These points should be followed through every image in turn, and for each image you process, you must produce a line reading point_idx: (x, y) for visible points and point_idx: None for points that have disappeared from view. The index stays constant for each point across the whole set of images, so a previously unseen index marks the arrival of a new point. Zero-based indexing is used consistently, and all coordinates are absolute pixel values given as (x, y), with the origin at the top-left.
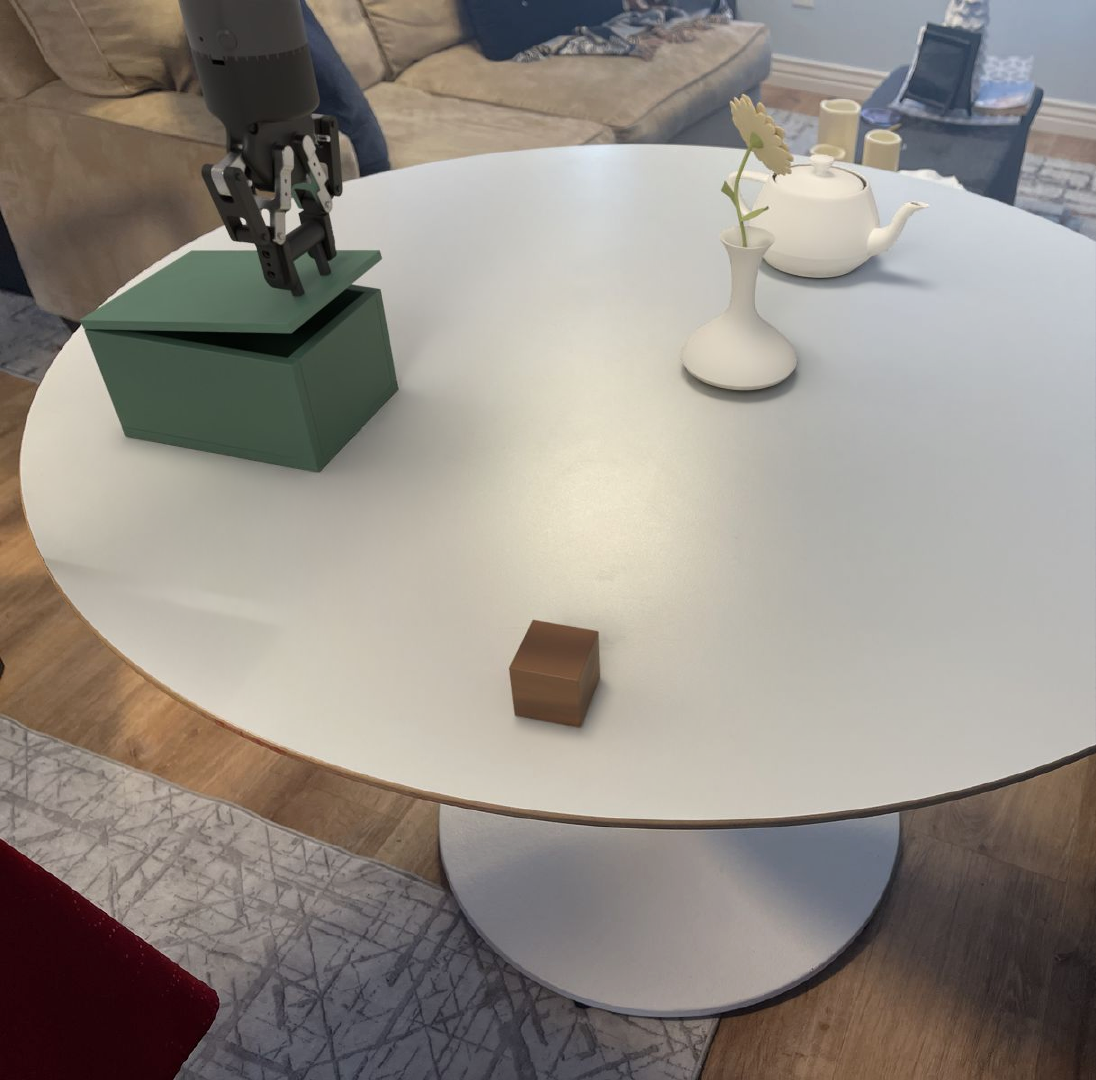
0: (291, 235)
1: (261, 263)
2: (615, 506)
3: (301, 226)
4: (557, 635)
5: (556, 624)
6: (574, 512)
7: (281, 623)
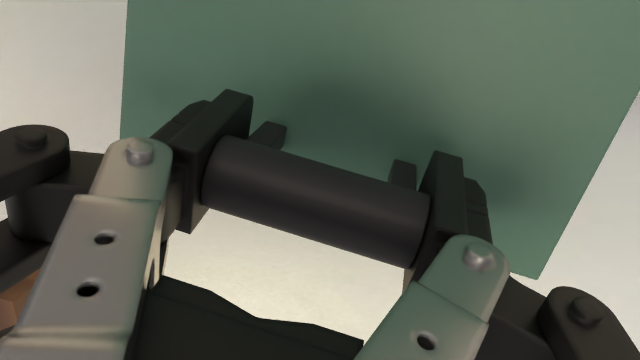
0: (275, 216)
1: (167, 125)
2: None
3: (350, 234)
4: (5, 315)
5: (15, 315)
6: (234, 298)
7: (8, 65)
